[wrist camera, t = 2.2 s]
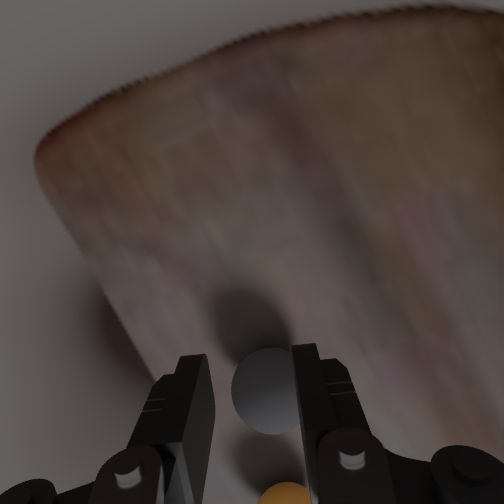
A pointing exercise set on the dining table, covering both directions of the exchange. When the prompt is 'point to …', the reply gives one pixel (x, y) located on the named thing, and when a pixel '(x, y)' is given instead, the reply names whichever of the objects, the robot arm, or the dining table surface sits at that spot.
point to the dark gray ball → (266, 391)
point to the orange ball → (286, 494)
